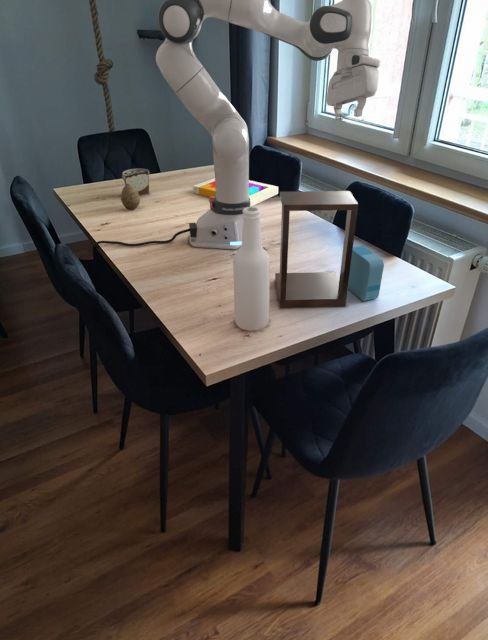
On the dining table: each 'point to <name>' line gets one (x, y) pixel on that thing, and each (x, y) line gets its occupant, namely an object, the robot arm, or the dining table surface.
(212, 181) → the puzzle game
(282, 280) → the shelf
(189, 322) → the dining table surface
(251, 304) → the alcohol
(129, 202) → the decorative egg
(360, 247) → the data package
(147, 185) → the food container
